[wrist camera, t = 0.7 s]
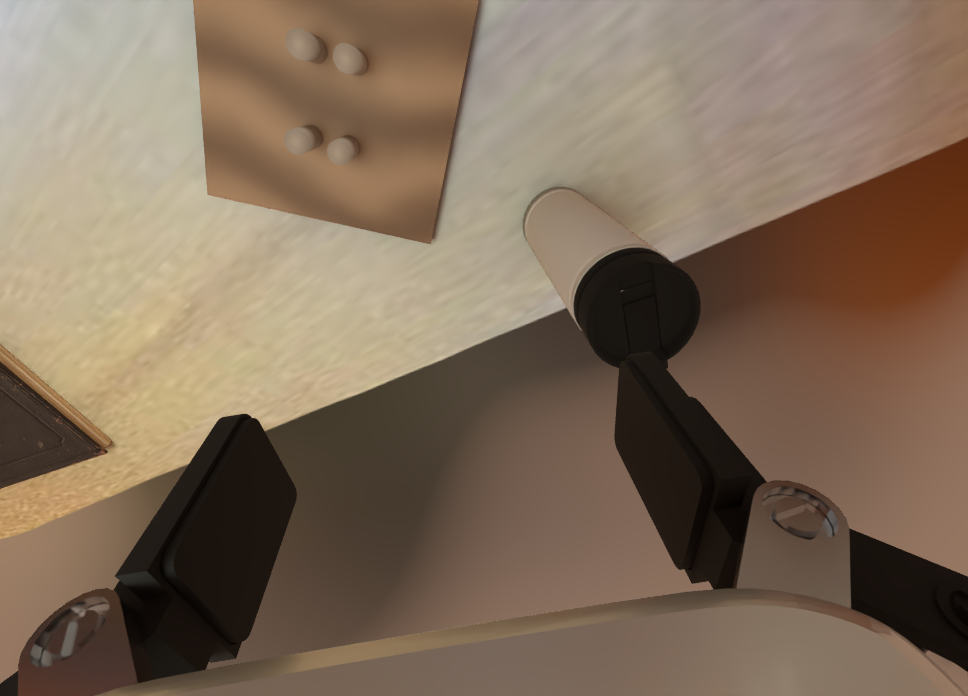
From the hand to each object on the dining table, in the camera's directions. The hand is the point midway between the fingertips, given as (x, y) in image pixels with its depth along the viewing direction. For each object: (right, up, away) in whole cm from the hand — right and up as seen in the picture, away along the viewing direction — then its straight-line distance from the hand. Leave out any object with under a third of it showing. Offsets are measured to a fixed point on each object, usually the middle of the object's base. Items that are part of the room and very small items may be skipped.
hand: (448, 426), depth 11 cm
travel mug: (+8, +14, +28) cm, 32 cm away
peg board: (-10, +21, +21) cm, 31 cm away
